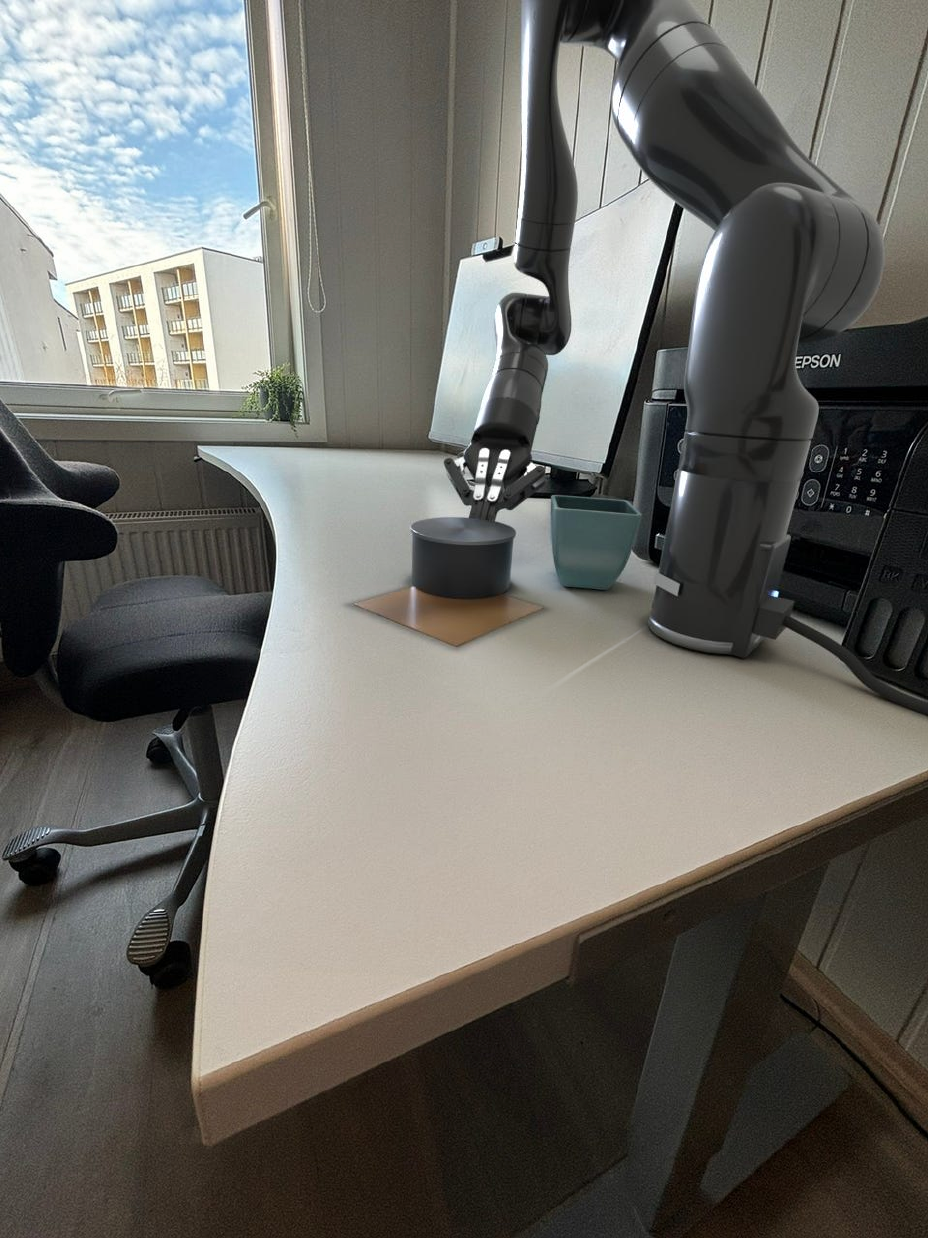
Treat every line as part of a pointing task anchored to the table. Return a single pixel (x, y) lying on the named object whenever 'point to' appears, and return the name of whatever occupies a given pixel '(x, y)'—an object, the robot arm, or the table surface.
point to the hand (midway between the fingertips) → (478, 533)
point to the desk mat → (448, 613)
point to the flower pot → (591, 539)
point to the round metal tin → (461, 557)
